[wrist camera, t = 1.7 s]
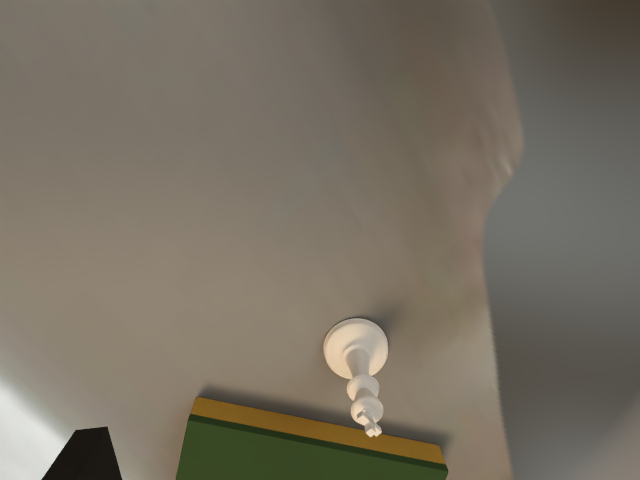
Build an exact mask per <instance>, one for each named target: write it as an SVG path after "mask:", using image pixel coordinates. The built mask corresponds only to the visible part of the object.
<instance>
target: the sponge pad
mask: <svg viewBox="0 0 640 480" xmlns="http://www.w3.org/2000/svg"><path fill="white" fill-rule="evenodd" d="M447 474H448V469H447V466H446V464H445V461H444V458H443V456H442V453H441V450H440V447H439V446H438V445H434V444H429V443H424V442H419V441H414V440H409V439H405V438H400V437H395V436H390V435H385V434H379V435H378V436H377V437H376V436H375V435H373V436H372V437H370V436H368V435H367V434H366V432H365V430H360V429H355V428H350V427H345V426H340V425H335V424H330V423H325V422H320V421H315V420H310V419H305V418H300V417H295V416H290V415H286V414H281V413H276V412H271V411H266V410H261V409H256V408H251V407H246V406H241V405H236V404H231V403H226V402H221V401H216V400H211V399H206V398H201V397H196V400H195V403H194V405H193V408H192V411H191V413H190V416H189V419H188V422H187V427H186V432H185V437H184V442H183V447H182V451H181V456H180V461H179V466H178V471H177V476H176V480H445V479H446V477H447Z"/></svg>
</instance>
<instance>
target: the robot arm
mask: <svg viewBox="0 0 640 480" xmlns="http://www.w3.org/2000/svg"><path fill="white" fill-rule="evenodd" d="M42 480H122V477H121V474H120V470H119V467H118V463H117V459H116V456H115V452H114V449H113V445H112V442H111V438H110V434H109V431H108V427H100V428H91V429H82V430H76V431H75V432H74V433H73V435H72V436H71V438H70V439H69V441H68V442H67V444H66V445H65V447H64V448H63V449H62V451H61V452H60V454H59V455H58V457H57V458H56V460H55V461H54V462H53V464H52V465H51V467H50V468H49V470H48V471H47V473H46V474H45V476H44V477H43V478H42Z"/></svg>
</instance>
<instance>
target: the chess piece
mask: <svg viewBox="0 0 640 480" xmlns="http://www.w3.org/2000/svg"><path fill="white" fill-rule="evenodd" d="M323 350H324V356H325V358H326V361H327V364H328V365H329V367H330V368H331V369H332V370H333V371H334V372H335V373H336V374H338V375H339V376H341V377H343V378H347V379H351V380H350V381H349V383H348V385H347V393H348V395H349V397H350V398H351V399H352V400H353V403H352V406H351V416H352V418H353V419H354V420H355V421H356V422H357V423H359V424H362V425H364V426H365V432H366V434H367V435H368V436H370V437H372V436H373V435H375V436H376V437H377V436H378V435H379V434H381V433H382V431H381V428H380V427H379V426H378V425H377V424H376V422H378V421H379V420H380V419H381V417H382V415H383V405H382V403H381V402H380V400H379V399H378V398H377V396H378V393H379V384H378V382H377V380H376V379H375V378H374V377H372V375H374V374H375V373H377V372H378V371H379V370H380V369H381V368H382V367H383V365H384V363H385V362H386V359H387V356H388V341H387V338H386V335H385V333H384V332H383V330H382V329H381V328H380V327H379V326H378V325H376V324H375V323H373V322H371V321H369V320H366V319H360V318H353V319H348V320H344V321H342V322H340V323H338V324H337V325H335V326H334V327H333V328H332V329H331V330H330V331H329V333H328V334H327V336H326V338H325V341H324V347H323Z"/></svg>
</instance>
